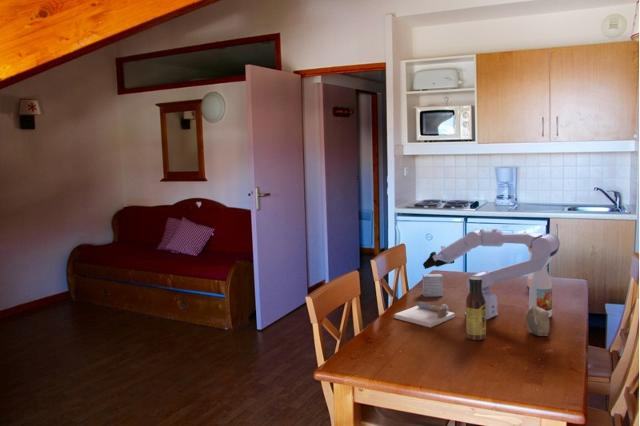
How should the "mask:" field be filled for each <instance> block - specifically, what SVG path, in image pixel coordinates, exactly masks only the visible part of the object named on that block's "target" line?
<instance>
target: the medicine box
mask: <svg viewBox="0 0 640 426" xmlns="http://www.w3.org/2000/svg"><path fill="white" fill-rule="evenodd" d="M443 278H444V277H443V275H442V274H441V273H431V274H430V273H424V274H422V295H423V297H426V298H427V297H443V295H444V290H443V289H444V288H443V287H444V286H443V285H444V284H443V282H444V280H443Z"/></svg>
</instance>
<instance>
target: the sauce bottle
mask: <svg viewBox="0 0 640 426" xmlns="http://www.w3.org/2000/svg"><path fill="white" fill-rule="evenodd" d="M469 283H470V293H468V294H467V296H466V301H465V303H466V305H465V313H466V315H465V331H466V338H468V339H469V340H472V341H481V340H484V339H486V334H487V319H486V301H485V299H484V296H483V293H482V278H479V277H471V278H469Z"/></svg>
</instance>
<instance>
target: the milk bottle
mask: <svg viewBox="0 0 640 426" xmlns="http://www.w3.org/2000/svg"><path fill="white" fill-rule="evenodd" d="M548 269H549V263H548V264H547V266H546V267H545V268H544V269H542V270H540V271H537V272H534V274H533V276H532V278H531V280H530V288H529V287H528V288H529V291H528V293H529V294H528V296H529V298H528V311H529V310H530V309H531V308H532V306H537V307H539V308H542V309H544V310H546V311H547V312H548V313H549V315H548V316H549V318H551V317H552V314H553V282H552V280H551V277H550V274H549V272H548Z"/></svg>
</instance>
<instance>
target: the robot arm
mask: <svg viewBox="0 0 640 426" xmlns="http://www.w3.org/2000/svg"><path fill="white" fill-rule="evenodd" d="M560 243H561V241H560V239H559V238H558V235H556V234H554V233H545V232H544V233H543V232H523V233H522V232H521V233H520V232H519V233H505V232H504V231H502V230H498V228H492V230H484V229H483V228H482V229H475V230H472V231H470V232H467V233H466V235H465V236H463V237H460V238H459V239H457V240H455V241H454V242H452V243H450V244H449V245H447V246H446V245H441V246H440V250H439V251H438V252H437V253H436V251H431V253H430V255H429V256H428V258H427V259H426V260H425V261H424V262H423V263H422V265H423V268H424V269H426V270H427V269H429V268H432V267H436V268H438V267H441V266H445V265H449V264H454V263H455V260H457V259H458V258H459V259H460V257H462V256H464V255H465V254H467V253H469V252H470V251H472V250H473V249H476V248H478V247H479V246H482V247H498V248H499V247H503V245H505V244H517V245H518V244H521V245H522V244H523V245H525V246H526V247H527V248H529V249H531V248H532V256H531V259H530V258H529V259H527V260H523V261H520V262H516V263H513V264H511V265H507V266H504V267H500V268H497V269H493V270H488V271H487V270H480V271H478V272H477V273H475V274H473V275H470V276H468V277H467V278H466V282H465V285H466V287H467V289H468V291H469V293H470V283H469V278H471V277H479V278H482V293H483V296H484V299H485V301H486V320H489V319H491V318H493V317H496V316H498V315H499V313H498V298H497V294H495V293H493V292H491V289H490V287H491V286H492V285H495V284H498V283H502V282H506V281H508V280H512V279H515V278H519V277H522V276H527V275H529V274H530V273H533V272H537V271H540V270H542V269H544V268H545V267H546V266H547V264H548V265H549V263H550V262H551V261H552V260H553V258H554V257H555V256H556V254H558V253H559V249H560V246H561V245H560ZM469 293H468V294H469ZM464 315H465V316H466V312H464Z"/></svg>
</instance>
